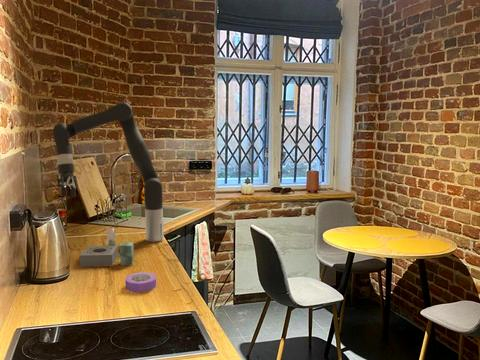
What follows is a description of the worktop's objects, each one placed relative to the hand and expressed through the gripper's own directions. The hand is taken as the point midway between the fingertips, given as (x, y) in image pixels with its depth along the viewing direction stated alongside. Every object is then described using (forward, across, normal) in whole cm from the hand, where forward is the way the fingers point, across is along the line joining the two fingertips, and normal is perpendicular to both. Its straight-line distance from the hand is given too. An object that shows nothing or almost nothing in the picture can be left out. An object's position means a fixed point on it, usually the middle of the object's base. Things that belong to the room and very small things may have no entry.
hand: (69, 196), depth 216 cm
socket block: (+32, -12, -18) cm, 39 cm away
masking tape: (+42, -37, -46) cm, 73 cm away
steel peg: (+29, +4, -17) cm, 34 cm away
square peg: (+35, -13, -31) cm, 49 cm away
